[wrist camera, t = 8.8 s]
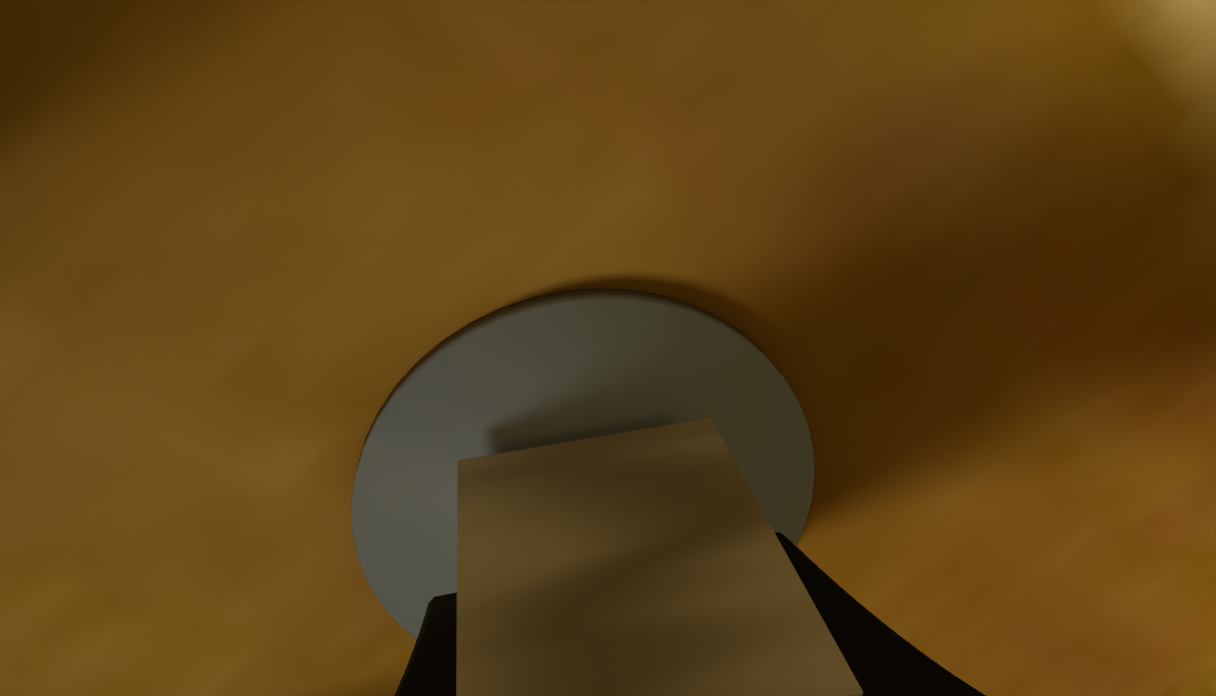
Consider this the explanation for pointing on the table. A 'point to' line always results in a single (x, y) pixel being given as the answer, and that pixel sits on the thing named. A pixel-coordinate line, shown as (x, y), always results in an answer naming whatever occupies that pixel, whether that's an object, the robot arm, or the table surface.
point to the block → (630, 576)
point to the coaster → (562, 419)
